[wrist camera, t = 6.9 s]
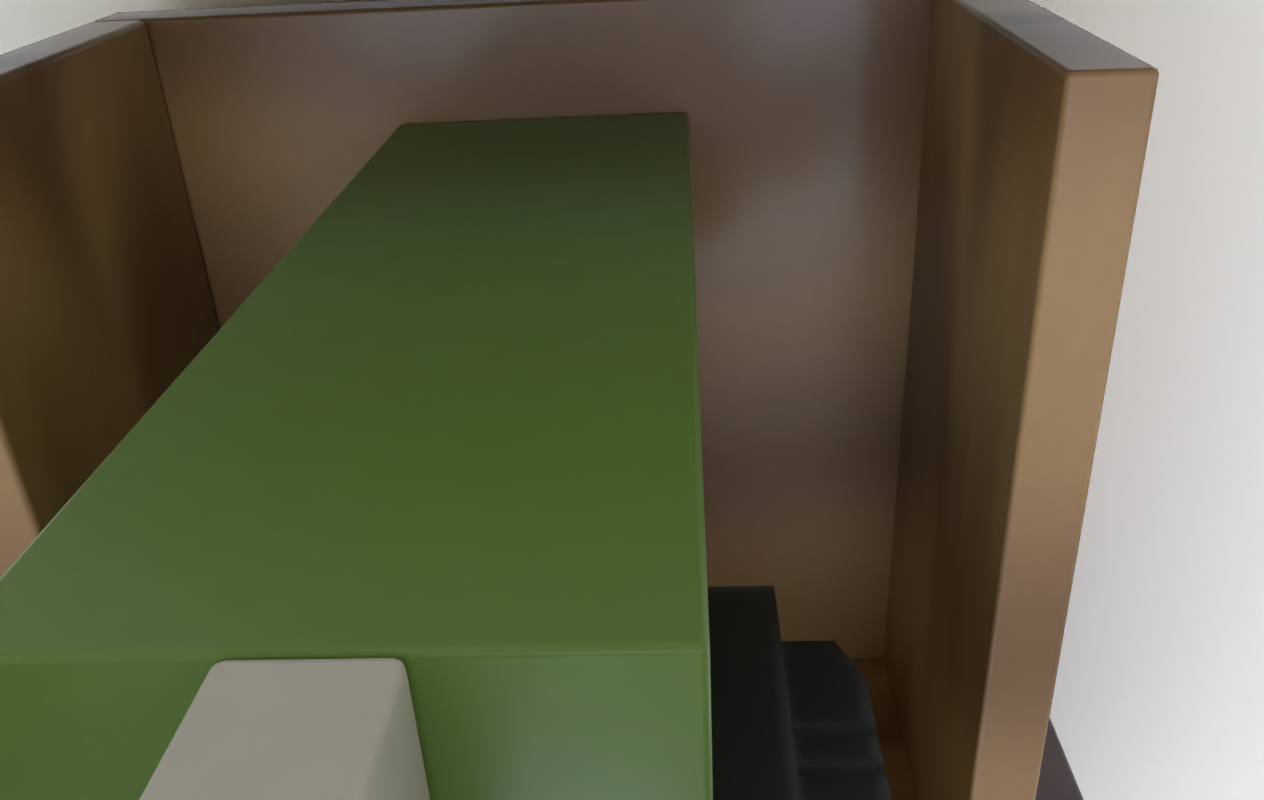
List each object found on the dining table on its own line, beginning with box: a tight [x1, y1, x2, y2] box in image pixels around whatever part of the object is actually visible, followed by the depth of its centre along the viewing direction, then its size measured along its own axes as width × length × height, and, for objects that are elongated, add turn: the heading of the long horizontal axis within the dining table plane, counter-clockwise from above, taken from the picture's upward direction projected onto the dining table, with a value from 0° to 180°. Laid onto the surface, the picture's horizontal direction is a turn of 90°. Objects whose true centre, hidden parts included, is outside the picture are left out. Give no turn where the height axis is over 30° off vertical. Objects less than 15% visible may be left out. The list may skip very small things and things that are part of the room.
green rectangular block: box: [0, 113, 713, 800], centre depth 12 cm, size 7×4×12 cm, turn 3°
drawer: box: [0, 0, 1159, 800], centre depth 13 cm, size 20×14×7 cm
